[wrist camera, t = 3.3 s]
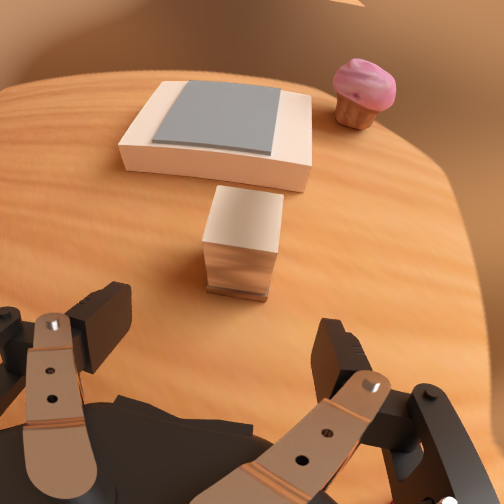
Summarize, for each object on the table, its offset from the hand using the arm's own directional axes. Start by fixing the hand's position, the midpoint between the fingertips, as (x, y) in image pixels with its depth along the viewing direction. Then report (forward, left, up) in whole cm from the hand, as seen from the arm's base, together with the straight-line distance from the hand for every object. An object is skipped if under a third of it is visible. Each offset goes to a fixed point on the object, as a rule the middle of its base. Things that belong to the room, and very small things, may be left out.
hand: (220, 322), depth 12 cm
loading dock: (-5, +25, -12) cm, 28 cm away
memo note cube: (0, +8, -12) cm, 14 cm away
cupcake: (+12, +34, -12) cm, 38 cm away
